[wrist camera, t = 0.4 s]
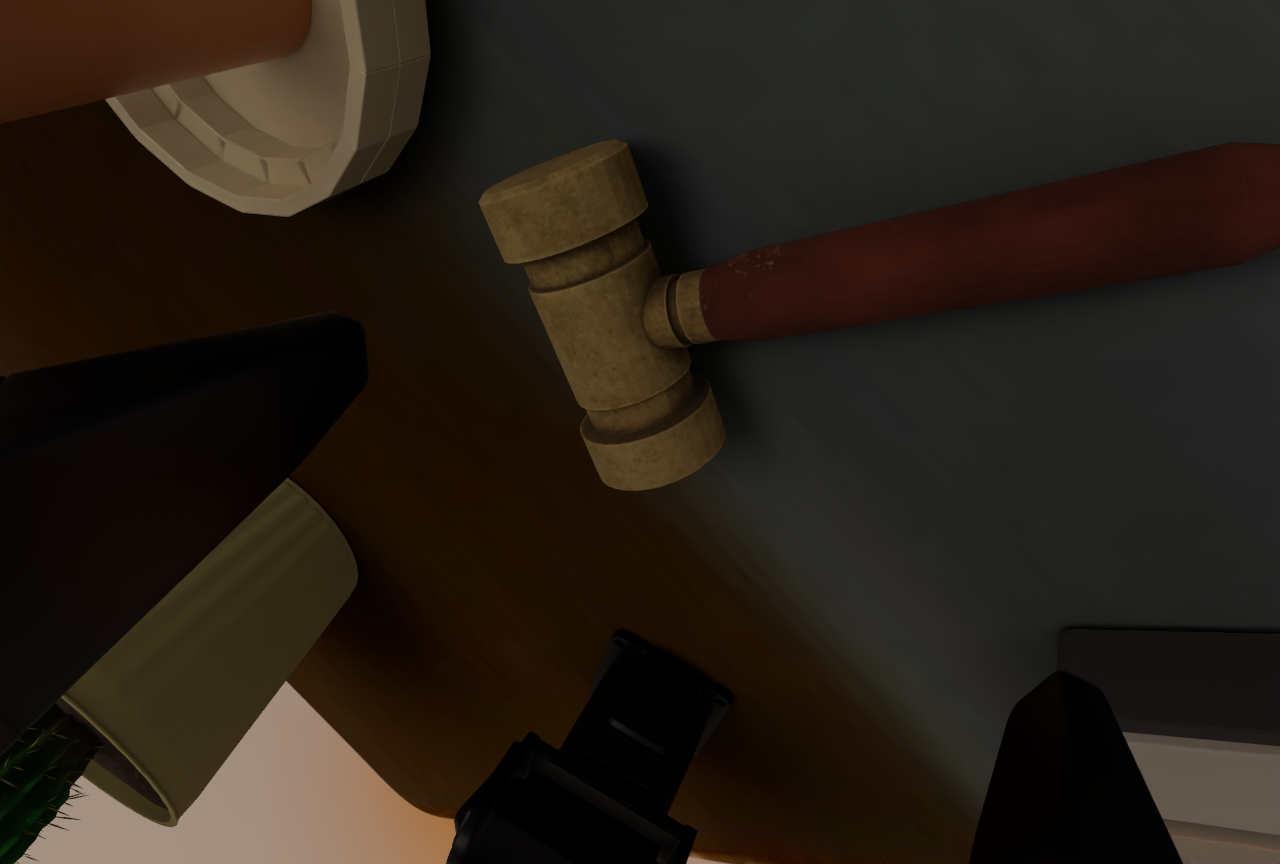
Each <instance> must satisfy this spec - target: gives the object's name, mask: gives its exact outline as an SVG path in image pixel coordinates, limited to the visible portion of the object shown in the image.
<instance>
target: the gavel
mask: <svg viewBox="0 0 1280 864" xmlns="http://www.w3.org/2000/svg"><path fill="white" fill-rule="evenodd" d="M478 203H479V205H480V207H481V209H482V212H483V214H484V216H485V218H486V221H487V223H488V225H489V227H490V230H491V232H492V234H493V236H494V239H495V241H496V243H497V245H498V248H499V250H500V252H501V255H502V257H503V259H504V261H505V262H506V263H523V265H524V268H525V270H526V272H527V275H528V277H529V279H530V281H531V284H530V286H529V289H528V290H529V292H530V295H531V297H532V299H533V301H534V304H535V306H536V308H537V311H538V313H539V315H540V317H541V320H542V322H543V324H544V327H545V329H546V331H547V333H548V336H549V338H550V340H551V343H552V345H553V347H554V350H555V352H556V354H557V356H558V359H559V361H560V363H561V366H562V368H563V370H564V372H565V375H566V377H567V379H568V382H569V384H570V386H571V388H572V391H573V393H574V395H575V398H576V400H577V402H578V404H579V405H580V406H581V407H583V408H585V409H586V411H587V413H588V414H587V415H586V416H585V418H584V419H583V421H582V424H581V427H580V432H581V435H582V437H583V439H584V442H585V444H586V446H587V448H588V451H589V453H590V455H591V457H592V460H593V462H594V464H595V466H596V469H597V471H598V473H599V475H600V477H601V479H602V481H603V482H604V483H605V484H607V485H608V486H610V487H613V488H615V489H620V490H647V489H654V488H658V487H662V486H666V485H668V484H671V483H674V482H677V481H679V480H681V479H683V478H685V477H687V476H689V475H691V474H692V473H694V472H696V471H697V470H699V469H700V468H701V467H702V466H704V465H705V464H706V463H707V462H709V461H710V460H711V459H712V458H713V457H714V456H715V455H716V454H717V453H718V451H719V450H720V448H721V447H722V445H723V443H724V440H725V436H726V431H725V428H724V425H723V422H722V419H721V416H720V413H719V410H718V407H717V404H716V401H715V398H714V395H713V393H712V390H711V387H710V384H709V382H708V380H707V379H705V378H704V377H703V376H700V375H698V374H693V373H690V370H689V367H690V365H691V358H690V355H689V352H688V350H687V347H688V346H691V345H692V344H693V343H694V344H701V343H707V342H713V341H719V340H735V341H764V340H770V339H776V338H783V337H789V336H795V335H801V334H808V333H814V332H820V331H827V330H833V329H839V328H845V327H852V326H858V325H864V324H870V323H877V322H883V321H889V320H895V319H902V318H908V317H914V316H920V315H927V314H933V313H939V312H945V311H952V310H958V309H964V308H970V307H977V306H983V305H989V304H995V303H1002V302H1008V301H1014V300H1020V299H1027V298H1033V297H1039V296H1045V295H1052V294H1058V293H1064V292H1070V291H1077V290H1083V289H1089V288H1095V287H1102V286H1108V285H1114V284H1120V283H1127V282H1133V281H1139V280H1145V279H1152V278H1158V277H1164V276H1170V275H1177V274H1183V273H1189V272H1195V271H1202V270H1208V269H1214V268H1221V267H1227V266H1233V265H1238V264H1241V263H1243V262H1245V261H1248V260H1250V259H1252V258H1255V257H1257V256H1259V255H1262V254H1264V253H1266V252H1269V251H1271V250H1273V249H1276V248H1278V247H1280V145H1279V144H1257V143H1235V142H1231V143H1226V144H1222V145H1217V146H1213V147H1209V148H1204V149H1200V150H1195V151H1191V152H1186V153H1182V154H1177V155H1173V156H1169V157H1164V158H1160V159H1155V160H1151V161H1146V162H1142V163H1138V164H1133V165H1129V166H1124V167H1120V168H1115V169H1111V170H1106V171H1102V172H1098V173H1093V174H1089V175H1084V176H1080V177H1075V178H1071V179H1067V180H1062V181H1058V182H1053V183H1049V184H1044V185H1040V186H1035V187H1031V188H1027V189H1022V190H1018V191H1013V192H1009V193H1004V194H1000V195H996V196H991V197H987V198H982V199H978V200H973V201H969V202H964V203H960V204H956V205H951V206H947V207H942V208H938V209H933V210H929V211H925V212H920V213H916V214H911V215H907V216H902V217H898V218H893V219H889V220H885V221H880V222H876V223H871V224H867V225H862V226H858V227H854V228H849V229H845V230H840V231H836V232H831V233H827V234H822V235H818V236H814V237H809V238H805V239H800V240H796V241H791V242H787V243H783V244H778V245H774V246H769V247H765V248H760V249H756V250H751V251H747V252H744V253H741V254H739V255H737V256H734V257H732V258H729V259H727V260H725V261H722V262H720V263H718V264H715V265H713V266H710V267H708V268H705V269H700V270H696V271H691V272H687V273H683V274H682V275H680V274H673V275H669V276H664V277H662V275H661V272H660V269H659V266H658V263H657V261H656V258H655V255H654V252H653V249H652V246H651V243H650V241H649V240H647V239H643V236H642V234H641V231H640V228H639V225H638V222H637V219H636V217H637V216H639V215H640V214H641V213H643V212H644V211H645V210H646V208H647V207H648V202H647V199H646V196H645V193H644V190H643V187H642V184H641V182H640V179H639V176H638V173H637V170H636V167H635V164H634V161H633V158H632V155H631V152H630V149H629V146H628V144H627V143H626V142H623V141H619V140H608V141H603V142H600V143H596V144H593V145H590V146H587V147H583V148H580V149H578V150H575V151H572V152H569V153H566V154H564V155H561V156H558V157H556V158H553V159H551V160H548V161H546V162H543V163H541V164H538V165H536V166H534V167H531V168H529V169H527V170H524V171H522V172H520V173H518V174H516V175H513V176H511V177H509V178H507V179H505V180H503V181H501V182H499V183H497V184H495V185H494V186H492V187H490V188H489V189H487V190H486V191H485V192H484V193H483V195H482V197H481V199H480V201H479V202H478Z"/></svg>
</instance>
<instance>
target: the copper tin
mask: <svg viewBox="0 0 1280 864" xmlns="http://www.w3.org/2000/svg"><path fill="white" fill-rule="evenodd" d="M311 14H312V6H311V0H0V124H1V123H6V122H10V121H14V120H18V119H23V118H27V117H31V116H35V115H40V114H44V113H48V112H52V111H57V110H61V109H65V108H69V107H74V106H78V105H82V104H86V103H91V102H95V101H99V100H103V99H108V98H112V97H116V96H120V95H125V94H129V93H133V92H137V91H142V90H146V89H150V88H155V87H159V86H163V85H167V84H172V83H176V82H180V81H184V80H189V79H193V78H197V77H201V76H206V75H210V74H214V73H218V72H223V71H227V70H231V69H235V68H240V67H244V66H248V65H252V64H257V63H261V62H265V61H269V60H274V59H278V58H282V57H286V56H289V55H291V54H293V53H295V52H296V51H297V50H298V49H299V48H300V47H301V46H302V45H303V43H304V41H305V40H306V38H307V35H308V32H309V29H310V24H311Z"/></svg>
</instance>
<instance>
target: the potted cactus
mask: <svg viewBox="0 0 1280 864" xmlns="http://www.w3.org/2000/svg"><path fill="white" fill-rule="evenodd" d="M357 581H358V569H357V564H356V561H355V558H354V555H353V552H352V550H351V548H350V546H349V544H348V542H347V540H346V539H345V537H344V535H343V534H342V532H341V531H340V529H339V528H338V527H337V525H336V524H335V522H334V521H333V520H332V519H331V517H330V516H329V515H328V514H327V513H326V511H325V510H324V509H323V508H322V507H321V506H320V505H319V504H318V503H317V502H316V501H315V500H314V499H313V498H312V497H311V496H310V495H309V494H308V493H307V492H305V491H304V490H303V489H302V488H301V487H299V486H298V485H297V484H296V483H294V482H293V481H292V480H290V479H289V478H287V479H286V480H285V481H284V482H283V483H282V484H281V485H280V486H279V487H277V488H276V489H275V490H274V491H273V492H272V493H271V494H270V495H269V496H268V497H267V498H266V499H265V500H264V501H263V502H262V503H261V504H260V505H259V506H258V507H257V508H256V509H255V510H254V511H253V512H252V513H251V514H250V515H249V516H248V517H247V518H245V519H244V520H243V521H242V522H241V523H240V524H239V525H238V526H237V527H236V528H235V529H234V530H233V531H232V532H231V533H230V534H229V535H228V536H227V537H226V538H225V539H224V540H223V541H222V542H221V543H220V544H219V545H218V546H217V547H216V548H215V549H213V550H212V551H211V552H210V553H209V554H208V555H207V556H206V557H205V558H204V559H203V560H202V561H201V562H200V563H199V564H198V565H197V566H196V567H195V568H194V569H193V570H192V571H191V572H190V573H189V574H188V575H187V576H186V577H185V578H184V579H183V580H181V581H180V582H179V583H178V584H177V585H176V586H175V587H174V588H173V589H172V590H171V591H170V592H169V593H168V594H167V595H166V596H165V597H164V598H163V599H162V600H161V601H160V602H159V603H158V604H157V605H156V606H155V607H154V608H153V609H152V610H151V611H149V612H148V613H147V614H146V615H145V616H144V617H143V618H142V619H141V620H140V621H139V622H138V623H137V624H136V625H135V626H134V627H133V628H132V629H131V630H130V631H129V632H128V633H127V634H126V635H125V636H124V637H123V638H122V639H121V640H120V641H119V642H117V643H116V644H115V645H114V646H113V647H112V648H111V649H110V650H109V651H108V652H107V653H106V654H105V655H104V656H103V657H102V658H101V659H100V660H99V661H98V662H97V663H96V664H95V665H94V666H93V667H92V668H91V669H90V670H89V671H88V672H87V673H85V674H84V675H83V676H82V677H81V678H80V679H79V680H78V681H77V682H76V683H75V684H74V685H73V686H72V687H71V688H70V689H69V690H68V691H67V692H66V693H65V694H64V695H63V696H62V697H61V698H60V699H59V700H58V701H57V702H56V703H54V704H53V705H52V706H51V707H50V708H49V709H48V710H47V711H46V712H45V713H44V714H43V715H42V716H41V717H40V718H39V719H38V720H37V721H36V722H35V723H34V724H33V725H32V726H31V727H30V728H29V729H28V730H26V731H24V732H23V734H22V736H21V737H20V738H19V739H18V740H17V741H16V742H15V743H14V744H13V745H12V746H11V747H10V748H9V749H8V750H7V751H6V752H5V753H3V754H2V755H1V756H0V864H13V863H14V864H15V862H16V861H17V860H18V859H20V858H21V857H22V856H23V854H24V853H25V851H26V850H27V849H28V848H29V846H30V845H31V844H32V843H33V842H34V841H35V840H36V838H37V836H39V835H38V834H39V833H40V831H41V830H42V829H43V828H44V827H45V826H47V825H48V824H50V822H51V821H52V820H53V819H54V818H55V817H56V814H57V812H59V813H62V812H60V811H58V810H59V808H60V807H61V806H62V805H63V804H64V803H65V804H67V805H70V804H68V803H66V800H68V798H70V797H73V796H76V795H73V796H70V797H69V794H70V788H71V786H72V785H75V786H77V785H76V784H74V783H75V781H76V780H77V779H78V778H79V777H80V776H81V775H82V776H83V777H84V778H86V779H87V780H89V781H90V782H91V783H93V784H94V785H96V786H97V787H98V788H100V789H101V790H102V791H104V792H105V793H107V794H108V795H110V796H111V797H113V798H114V799H116V800H117V801H118V802H120V803H122V804H123V805H125V806H126V807H128V808H130V809H132V810H133V811H134V812H136V813H138V814H140V815H142V816H143V817H145V818H147V819H149V820H151V821H153V822H155V823H158V824H160V825H163V826H167V827H173V826H176V825H177V823H178V820H179V818H180V817H181V816H182V815H183V813H184V812H185V811H186V810H187V809H188V808H189V807H190V806H191V805H192V804H193V802H194V801H195V800H196V799H197V798H198V796H199V795H200V794H201V792H202V791H203V790H204V788H205V787H206V786H207V784H208V783H209V782H210V780H211V779H212V778H213V776H214V775H215V774H216V772H217V771H218V770H219V768H220V767H221V766H222V764H223V763H224V762H225V760H226V759H227V758H228V756H229V755H230V754H231V752H232V751H233V750H234V748H235V747H236V746H237V744H238V743H239V742H240V740H241V739H242V738H243V736H244V735H245V734H246V733H247V731H248V730H249V729H250V727H251V726H252V725H253V723H254V722H255V721H256V719H257V718H258V717H259V715H260V714H261V713H262V711H263V710H264V709H265V707H266V706H267V705H268V703H269V702H270V701H271V700H272V698H273V697H274V696H275V694H276V693H277V692H278V690H279V689H280V688H281V686H282V685H283V684H284V682H285V681H286V680H287V679H288V677H289V676H290V675H291V673H292V672H293V671H294V669H295V668H296V667H297V665H298V664H299V663H300V661H301V660H302V659H303V657H304V656H305V655H306V653H307V652H308V651H309V650H310V648H311V647H312V646H313V644H314V643H315V642H316V640H317V639H318V638H319V636H320V635H321V634H322V632H323V631H324V630H325V628H326V627H327V626H328V625H329V623H330V622H331V621H332V619H333V618H334V617H335V615H336V614H337V613H338V611H339V610H340V609H341V607H342V606H343V605H344V603H345V602H346V601H347V600H348V598H349V597H350V596H351V593H352V591H353V590H354V588H355V587H356V585H357ZM77 787H79V786H77ZM80 788H81V787H80ZM73 790H74V789H73ZM75 791H76V792H79V791H77V790H75ZM81 794H82V793H81ZM77 795H79V794H77ZM80 797H83V796H80ZM74 798H78V797H74ZM74 798H70V799H74ZM62 814H65V813H62ZM65 815H66V814H65ZM58 818H64V819H73V818H67V817H58ZM76 820H77V819H76ZM50 825H53V826H55V827H59V826H57V825H54V824H50ZM59 828H62V827H59ZM62 829H64V828H62ZM65 830H66V829H65ZM39 837H41V836H39ZM25 855H27V854H25ZM28 858H30V857H28ZM30 859H33V858H30ZM33 860H34V859H33Z"/></svg>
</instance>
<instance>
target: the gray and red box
mask: <svg viewBox="0 0 1280 864" xmlns="http://www.w3.org/2000/svg"><path fill="white" fill-rule="evenodd" d="M1061 670H1063V671H1067V672H1069V673H1071V674H1073V675H1075V676H1077V677H1079V678H1081V679H1083V680H1085V681H1087V682H1089V683H1091V684H1093V685H1095V686H1097V687H1098V688H1099V689H1100V690H1101V691H1102V692H1103V693H1104V695H1105V697H1106V698H1107V700H1108V703H1109V705H1110V707H1111V709H1112V711H1113V713H1114V715H1115V718H1116V720H1117V722H1118V724H1119V726H1120V728H1121V730H1122V733H1123V735H1124V737H1125V739H1126V741H1127V743H1128V746H1129V748H1130V750H1131V752H1132V754H1133V756H1134V758H1135V761H1136V763H1137V765H1138V767H1139V769H1140V771H1141V773H1142V776H1143V778H1144V780H1145V782H1146V784H1147V786H1148V788H1149V791H1150V793H1151V795H1152V797H1153V799H1154V801H1155V804H1156V806H1157V808H1158V810H1159V812H1160V814H1161V816H1162V819H1163V821H1164V823H1165V825H1166V827H1167V829H1168V831H1169V834H1170V836H1171V838H1172V840H1173V842H1174V844H1175V846H1176V849H1177V851H1178V853H1179V855H1180V857H1181V859H1182V862H1183V864H1280V634H1270V633H1228V632H1186V631H1145V630H1103V629H1066V630H1063V631H1062V632H1060V633H1059V635H1058V645H1057V671H1061Z"/></svg>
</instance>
